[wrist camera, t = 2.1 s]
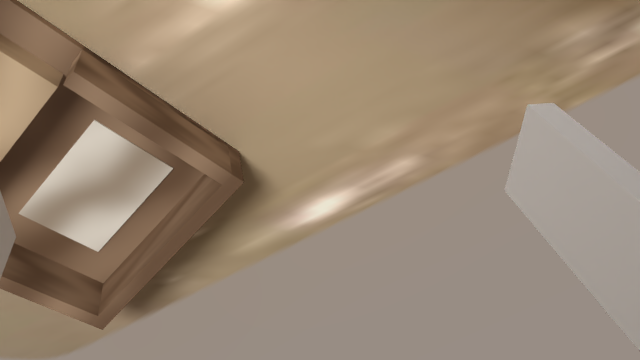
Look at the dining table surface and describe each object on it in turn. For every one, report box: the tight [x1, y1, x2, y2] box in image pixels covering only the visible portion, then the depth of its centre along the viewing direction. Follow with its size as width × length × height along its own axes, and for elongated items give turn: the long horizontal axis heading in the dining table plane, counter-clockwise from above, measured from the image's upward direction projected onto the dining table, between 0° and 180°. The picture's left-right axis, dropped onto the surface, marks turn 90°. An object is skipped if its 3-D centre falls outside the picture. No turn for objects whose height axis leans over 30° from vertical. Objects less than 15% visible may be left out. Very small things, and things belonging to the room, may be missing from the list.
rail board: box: [0, 0, 244, 330], centre depth 34 cm, size 23×16×4 cm
